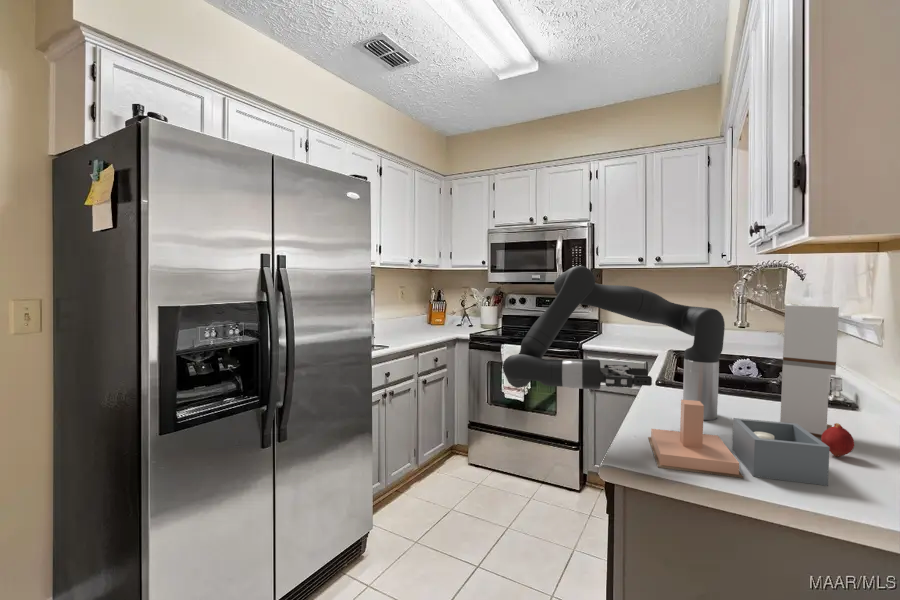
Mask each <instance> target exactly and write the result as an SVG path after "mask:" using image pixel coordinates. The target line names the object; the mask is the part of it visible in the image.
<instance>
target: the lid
mask: <svg viewBox="0 0 900 600" xmlns="http://www.w3.org/2000/svg"><path fill="white" fill-rule="evenodd" d="M703 416H704V405H703V404H702V403H701V402H700V401H693V400H683V399H681V400H680V422H679V423H680V425H679V426H680V428H679V431H677V430H669V429H668V430H667V429H656V428H651V429H650V430H651V432H650V437H651V439H652V442H653V445H654V448H655V451H656V454H657V457H658V460H659V462H660V465H665V466H673V467H681V468H689V469H697V470H704V471H712V472H720V473H728V474H736V475H739V471H740V462H739V460H737V458H736V457H735V456H734V454H733V453H732V452H731V450H730V449H729V448H728V446H727V445H726V444H725V443H724V441H723V440H722V439H721V438H720V436H719V435H718V434H717V435H715V434H707V433H704V420H703Z"/></svg>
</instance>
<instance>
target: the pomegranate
mask: <svg viewBox="0 0 900 600" xmlns="http://www.w3.org/2000/svg"><path fill="white" fill-rule="evenodd" d="M833 425H834V426H832V427H830V428H828V429H827V430H825V431H824V432H823V434H822V436H821V440H822V442H823V443H825V444H826V445H827V446H829V447H830V450H829V453H830V454H832V455H833V456H834V457H838V458H839V457H842V456H846V455H848V454H850V453H851V452H852V451H853V450H854V448H855V440H854V437H853V436H852V434H851V433H850V432H849V431H848V430H847V429H845V428H844V426H842V425H841V424H840V423H837V422H836V423H833Z"/></svg>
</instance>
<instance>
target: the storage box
mask: <svg viewBox="0 0 900 600" xmlns="http://www.w3.org/2000/svg"><path fill="white" fill-rule="evenodd" d="M732 419H733V420H732V443H731V445H732V447H731V451H732V452H733V453H734V454H735V456H737V458H738V460H740V462H741V464H743V466H745V468H746V469H747V471H748V472H749V473H750V474H751V475H752V477H756V478H764V479H773V480H781V481H787V482H793V483H795V482H796V483H804V484H811V485H812V484H813V485H819V486H820V485H821V486H828V485H829V471H830V470H829V466H830V451H829V450H830V447H829V446H827V445H826V444H825V443H823V442H822V441H820V440H819V439H818V438H816V437H815V436H813V435H812V434H811V433H809V432H808V431H806V430H805V429H804V428H802V427H801V426H800V425H798V424H796V423H784V422H780V421H772V420H771V421H770V420H759V419H749V418H740V417H738V418H737V417H733V418H732Z"/></svg>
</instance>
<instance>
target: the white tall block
mask: <svg viewBox="0 0 900 600" xmlns="http://www.w3.org/2000/svg"><path fill="white" fill-rule="evenodd" d="M839 309H840V307H839V305H838V304H833V305H832V306H831V305H830V306H821V305H820V306H819V305H813V306H812V305H798V304H797V305H795V304H792V303H787V304H785V306H784V327H783V328H784V329H783V346H782V347H783V351H782V373H781V397H780V419H779V420H780V421H779V422H784V423H796V424H798V425H800V426H801V427H802V428H804V429H805V430H806V431H808V432H809V433H811V434H812V435H813V436H815V437H816V438H818V439H819V440H820V441H822V440H821V436H822V434H823V432H824V431H825V430H827V429H828V428H830V427H833V425H832V424H828V414H829V413H828V410H829V395H830V389H831V387H830V386H831V376H836V372H837V371H836V370H837V352H838V351H837V350H838V331H839V329H838V328H839V314H840V313H839V311H840V310H839Z"/></svg>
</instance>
